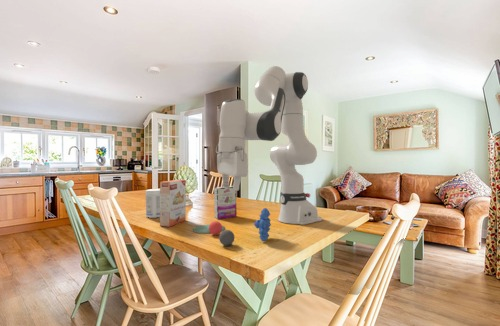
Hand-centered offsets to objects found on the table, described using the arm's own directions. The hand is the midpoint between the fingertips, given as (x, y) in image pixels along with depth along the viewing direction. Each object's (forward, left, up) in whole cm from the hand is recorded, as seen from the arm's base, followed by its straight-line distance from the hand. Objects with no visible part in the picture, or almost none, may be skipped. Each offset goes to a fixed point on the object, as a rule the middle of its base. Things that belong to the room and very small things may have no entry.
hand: (230, 188), depth 83 cm
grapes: (-15, -7, -21) cm, 27 cm away
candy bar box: (-15, -49, -21) cm, 55 cm away
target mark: (-1, -30, -21) cm, 37 cm away
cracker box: (+12, -48, -21) cm, 54 cm away
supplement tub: (+19, -68, -21) cm, 73 cm away
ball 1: (-1, -21, -18) cm, 28 cm away
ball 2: (-1, -7, -18) cm, 20 cm away
